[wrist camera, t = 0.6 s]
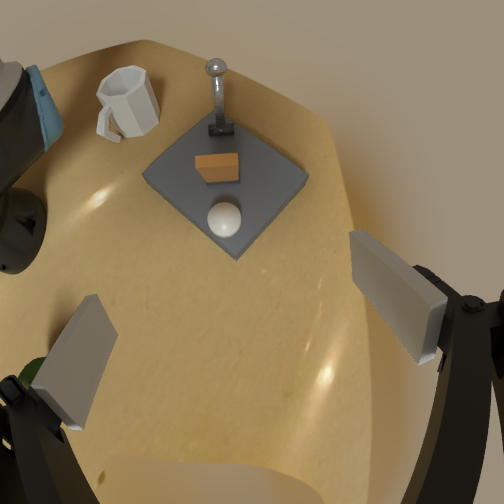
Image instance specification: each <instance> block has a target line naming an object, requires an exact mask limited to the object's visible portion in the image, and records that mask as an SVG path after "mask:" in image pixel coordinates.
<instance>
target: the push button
mask: <svg viewBox="0 0 504 504" xmlns="http://www.w3.org/2000/svg"><path fill="white" fill-rule="evenodd" d="M207 220H208V224H209V227H210V230H211V231H212V233H213V234H214V235H215V236H217V237H219V238H223V239H227V238H231V237H233V236H235V235H236V234H237V233H238V232H239V230H240V228H241V214H240V211H239V210H238V208H237V207H236V206H235V205H233V204H231V203H227V202H222V203H218V204H216V205H215V206H213V207H212V208H211V209H210V211H209V213H208V217H207Z"/></svg>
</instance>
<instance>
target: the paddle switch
mask: <svg viewBox="0 0 504 504" xmlns="http://www.w3.org/2000/svg"><path fill="white" fill-rule="evenodd" d="M195 169H196V170H197V171H198V172H199V173H200V175H201V176H202V177H203V178H204V179H205V181H206V186H209V185H222V184H236V183H240V170H238V153H224V154H212V155H200V156H195Z"/></svg>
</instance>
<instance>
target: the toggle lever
mask: <svg viewBox="0 0 504 504" xmlns="http://www.w3.org/2000/svg"><path fill="white" fill-rule="evenodd" d="M205 69H206V72H207V74H208V75H209V76H211V80H212V91H213V101H214V111H215V121H216V124H212V125H208V133H209V137H214V136H227V135H234V123H226V119H225V105H224V91H223V77H222V75H224V74H225V72H226V70H227V66H226V63H225V62H224V61H223V60H222V59H219V58H214V59H211V60H210V61H208V63H207V64H206V67H205Z"/></svg>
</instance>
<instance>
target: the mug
mask: <svg viewBox="0 0 504 504" xmlns="http://www.w3.org/2000/svg"><path fill="white" fill-rule="evenodd" d="M96 96H97V97H98V99H99V101H100V103H101V104H102V106H103V109H102V110H101V111H100V112H99V115H98V123H97V131H96V133H97V134H99V135H101V136H102V137H104V138H106V139H108V140H110V141H113V142H117V143H119V142H120V139H121V136H119V135H117V134H115V133H112V132H110V131H108V129H109V118H110V120H111V121H112V123H113V125H114V126H115V128H116V130H117V131H118V132H119V133H121V134H122V135H123V136H124V137H125V138H129V137H137V136H144V135H145V134H147V133H148V132H149V131H150V130H151V129H152V128H154V127H155V126H156V125H157V124H158V123H159V116H160V108H159V106H158V103H157V100H156V97H155V95H154V92H153V89H152V86H151V83H150V80H149V77H148V75H147V72H146V70H144V69H142V68H140V67H138V66H135V65H133V66H128V67H122V68H118V69H116V70H115V71H113V72H112V73H111V74H109V75H108V76H107V77H105V78H104V79H103V80H102V81H101V83H100V86H99V88H98V91H97V93H96Z"/></svg>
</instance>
